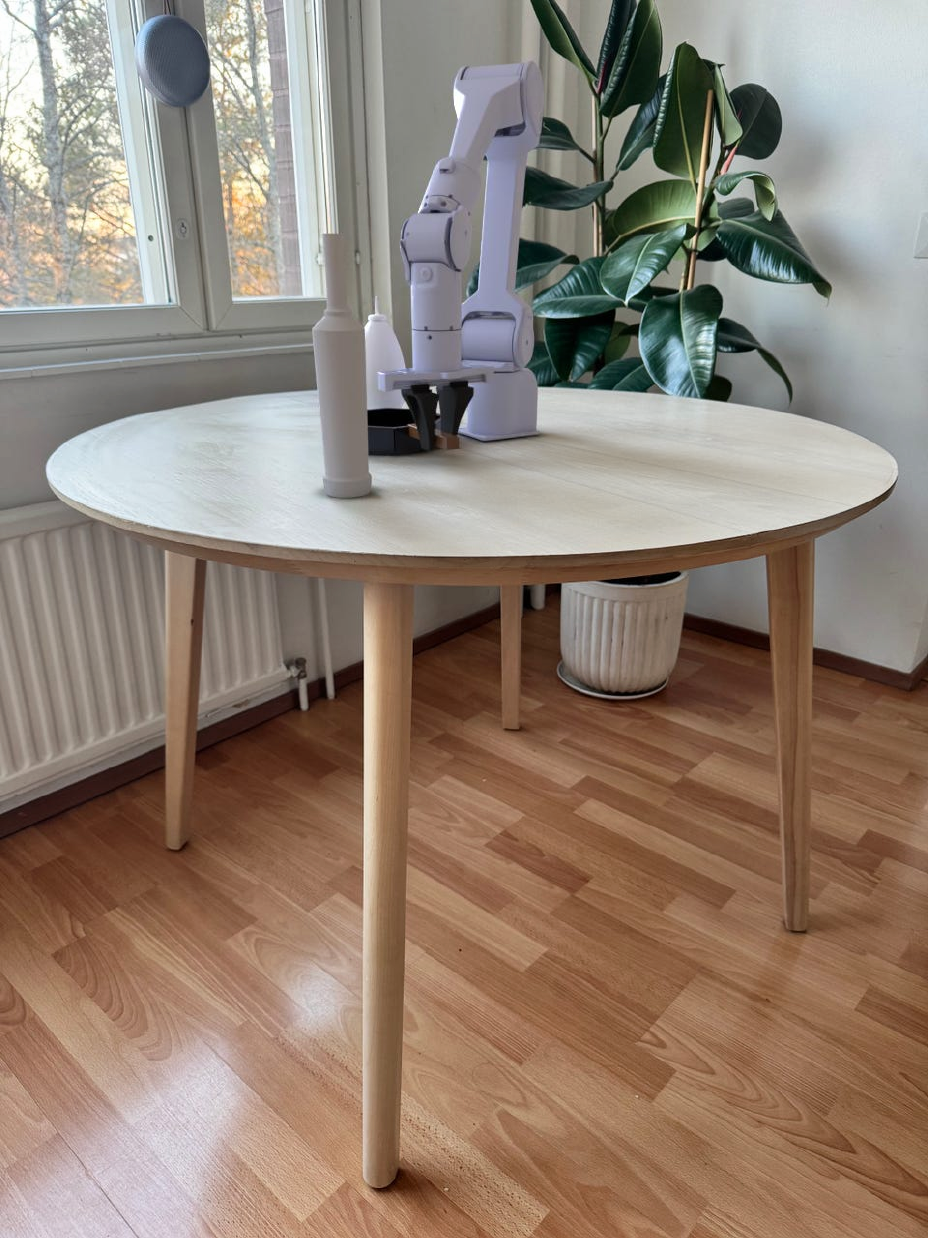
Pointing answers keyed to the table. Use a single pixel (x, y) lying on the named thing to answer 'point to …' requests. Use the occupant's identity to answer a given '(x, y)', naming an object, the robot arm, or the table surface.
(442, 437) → the pan
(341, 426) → the bottle
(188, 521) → the table surface
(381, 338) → the sauce bottle
